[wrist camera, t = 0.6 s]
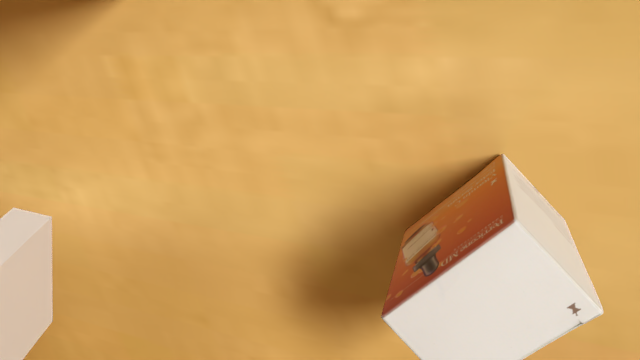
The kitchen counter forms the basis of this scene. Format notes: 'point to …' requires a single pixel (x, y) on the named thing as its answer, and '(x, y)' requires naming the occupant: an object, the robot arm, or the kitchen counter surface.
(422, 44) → the kitchen counter surface
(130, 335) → the kitchen counter surface
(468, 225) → the small box
